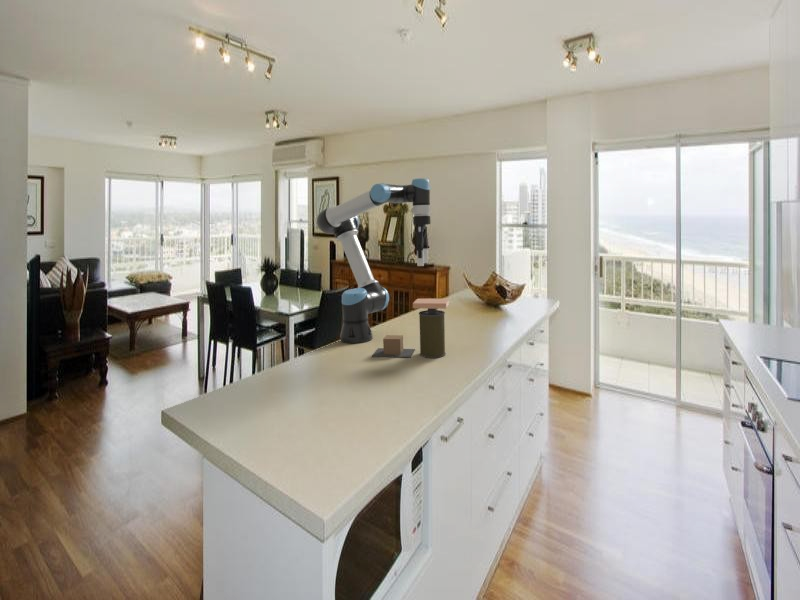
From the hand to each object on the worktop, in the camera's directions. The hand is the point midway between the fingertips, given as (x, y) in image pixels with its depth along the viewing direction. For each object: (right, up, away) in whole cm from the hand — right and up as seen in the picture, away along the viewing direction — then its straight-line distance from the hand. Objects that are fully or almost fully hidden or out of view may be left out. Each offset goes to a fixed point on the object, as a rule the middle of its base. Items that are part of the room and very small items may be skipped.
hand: (422, 264), depth 191 cm
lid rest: (-13, -38, -12) cm, 42 cm away
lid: (+2, -18, -18) cm, 26 cm away
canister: (+3, -38, -15) cm, 41 cm away
